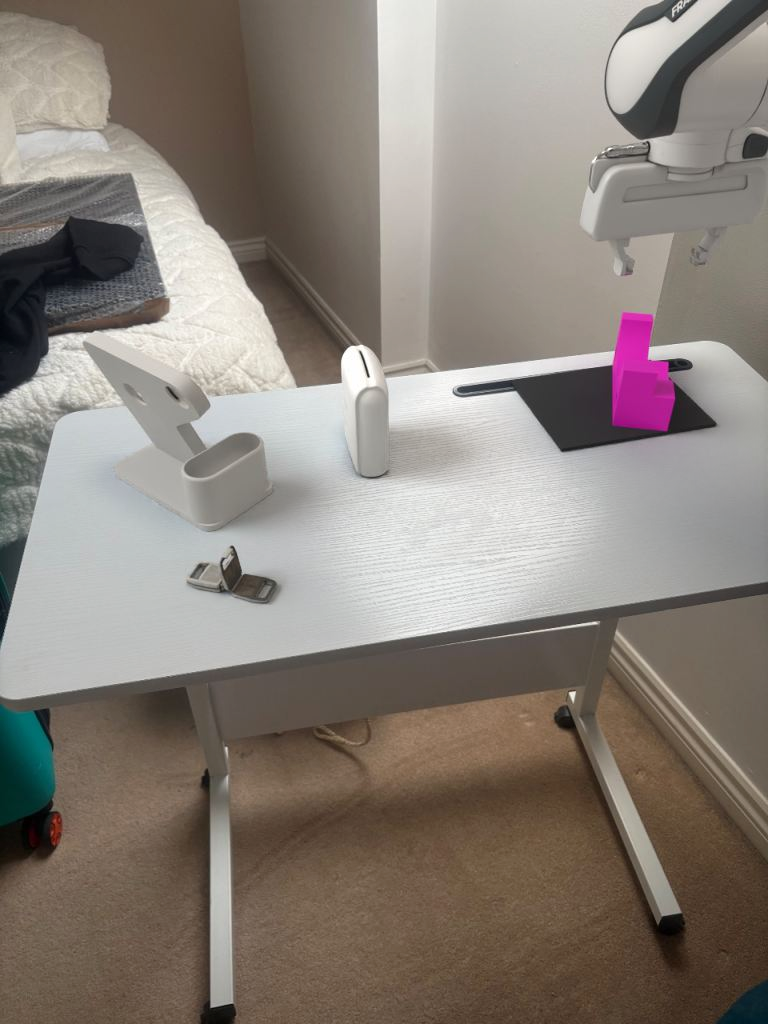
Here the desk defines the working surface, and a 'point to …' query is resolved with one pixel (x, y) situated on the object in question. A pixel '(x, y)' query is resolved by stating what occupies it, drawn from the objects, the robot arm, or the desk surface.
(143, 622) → the desk surface
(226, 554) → the strap clip
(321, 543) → the desk surface
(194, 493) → the phone holder
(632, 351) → the toy block
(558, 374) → the mat
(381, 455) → the photo printer
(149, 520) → the desk surface
